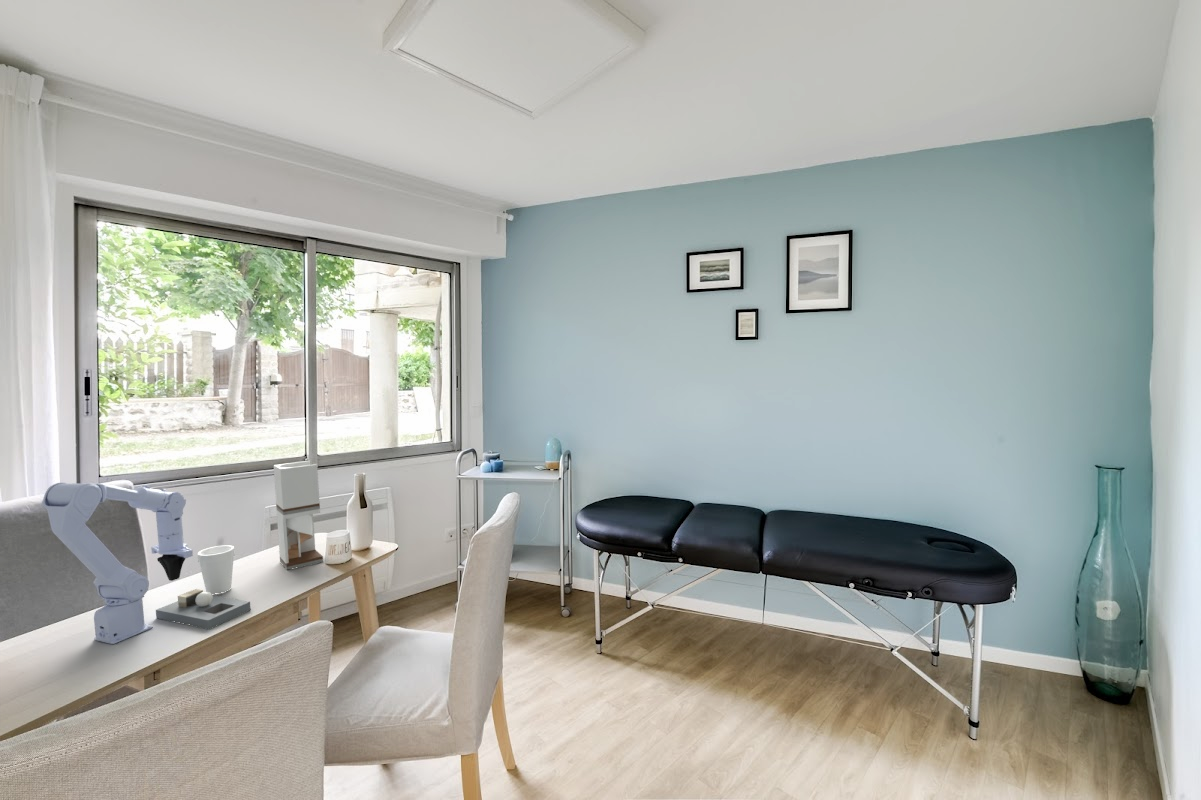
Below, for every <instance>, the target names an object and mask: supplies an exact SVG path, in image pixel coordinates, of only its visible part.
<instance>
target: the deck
mask: <svg viewBox="0 0 1201 800" xmlns="http://www.w3.org/2000/svg"><path fill="white" fill-rule="evenodd" d="M212 596H213V599H212V602H211V603H210V604H209V605H207V606H204V607H201V606H198V605H197V604H194V605H191V606H189V607H186V608H185V607H180V606H178V600H177V601H175V602H172V603H170V604H167V605H165V606H162V607H159V608H157V609H155V616H156V617H155V618H159V619H158V620H161V619H163V620H162V621H166V620H168V621H167V622H171V621H175V622H174V623H176V622H180V623H184V624H183V625H185V624H190V625H193V626H192V627H195V626H197V627H196V628H200V627H201V628H200V629H205V628H206V630H211V629H213V628H215V627H217V626H219V624H220V625H221V623H222V624H223V622H224V623H226V622H228V621H230V620H232V619H235V618H236V617H239V616H241V615H243V614H245V613H248V612H250V611H251V601H249V600H242V599H237V598H231V597H225V596H219V595H212ZM249 610H250V611H249ZM247 611H248V612H247ZM180 623H179V624H180ZM190 625H189V626H190ZM216 625H217V626H216ZM212 627H213V628H212ZM210 628H211V629H210Z"/></svg>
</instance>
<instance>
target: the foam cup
mask: <svg viewBox="0 0 1201 800" xmlns="http://www.w3.org/2000/svg"><path fill="white" fill-rule="evenodd" d="M234 558H235V546H234V545H231V544H230V545H228V544H226V545H225V544H224V545H217V546H211V547H207V548H204V549H202V550H199V551H198V552H197V559H198V561H197V562H198V564H199V567H200V572H201V576H202V580H203V584H204V588H205V592H210V593H211V594H215V593H221V592H225V591H227V590H229V589H230V588H231V589H232V581H233V568H234ZM229 591H230V590H229ZM225 593H226V592H225Z"/></svg>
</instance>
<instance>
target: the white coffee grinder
mask: <svg viewBox="0 0 1201 800" xmlns="http://www.w3.org/2000/svg"><path fill="white" fill-rule="evenodd" d="M310 461H311V460H304V461H295V462H287V463H280V464H274V465H273V473H274V475H273V476H274V489H275V490H274V491H275V492H274V493H275V505H276V507H275V508H276V509H275V510H276V520H277V521H276V523H277V524H276V525H277V535H278V536H277V537H278V549H279V550H278V552H279V553H278V554H279V563H280V562H281V563H282V564H283V565H282V564H281V563H280V564H281V565H282V566H283V568H284V569H285V568H286V569H291V570H293V569H292V568H295V569H297V568H296V567H299V568H303V567H302V566H304V567H307V566H306V565H308V566H311V564H312V565H317V564H320V562H321V563H324V556H323V555H322V554H321V553H320V552H319V551H317V550H316V542H315V541H316V540H315V539H316V538H315V524H314V523H315V520H314V515H315V514H320V513H321V507H320V506H321V505H320V502H321V501H320V491H319V489H320V488H319V487H320V485H319V476H318V475H319V473H318V472H319V470H318V463H314V464H311V462H310ZM286 569H285V570H286Z"/></svg>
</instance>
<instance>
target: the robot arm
mask: <svg viewBox="0 0 1201 800" xmlns="http://www.w3.org/2000/svg"><path fill="white" fill-rule="evenodd" d="M106 500H110V501H111V500H112V501H117V502H127V503H128V506H129V507H131V508H133V509H141V510H147V511H151V512H152V513H155V517H156V518H155V519H156V528H157V529H156V530H157V532H156V533H157V541H158V543H157V544H156V545H154V546H151V547H150V550H151V554H159V555H161V556H160V557H158V558H156V559H157V562H158V563H159V564H160V565H161V567H162V568H163V569H164V572H165V574H166V577H167V579H168V580H169V581H170V582H171V581H172V582H173V581H176V580H178V579H180V576H181V573H182V568H183V565H184V562H185V560H186V559H188V558H191V557H194V553H193V548H192V549H191V548H189V545H188V543H184V531H183V530H184V529H183V528H184V527H183V518H182V517H183V515H184V508H185V506H186V503H187V499H185V497H184V495H182V494H181V493H180V492H178V491H177V492H176V491H167V489H166V488H159V489H155V488H152V486H151V485H145V484H143V485H142V486H138V487H135V488H133V489H129V488H125V487H121V486H117V485H112V484H106V483H94V482H93V483H92V482H89V483H87V482H86V483H66V482H56V483H54V484H52V485H50V486H49V487H48V488H47V489H46V491H45V493H44V495H43V498H42V501H41V506H42V507H43V508H44V509H45V510H46V512H47V515H48V519H49V525H50V530H51V531H52V533H53V534H54V535H55V536H56V538H58V540H60V541H61V542H62V544H63V545H64V546H65V547H66V548H67V549H68V550H69V551H70V552H71V553H72V554H73V555H74V556H75V557H76V558H77V559H78V560H79V561H80V562H81V564H83V565H84V566H85V567H86V568H87V569H88V570H89V571H90V573H92V575H93V576H95V578H94V580H93V583H92V584H93V585H94V586H95V587H96V589H97V590H96V591H97V594H98V596H99V597H100V598H101V599H104V603H105V605H103V606H102V607H101V608H98V609H97V610H96V611H95V612H94V615H93V623H94V630H95V631H94V632H95V637H94V638H93V640H94V641H98V642H101V643H102V642H103V643H107V644H110V645H115V644H117V643H119V642H122V641H124V640H126V639H129V638H132V637H134V636H137V635H138V634H141V633H143V632H146V631H148V630H150V629H153V627H154V625H150V624H147V623H146V624H145V615H144V604H143V602H144V601H143V598H144V597H145V595H146V594H147V592H148V590H149V585H150V581H149V579H148V577H146V576H145V575H143V574H139V573H138V572H137V571H136V570H134V569H132V568H129V567H128V566H125V565H123V564H122V563H121V562H120V561H119V559H117V557H116V556H115V555H114V554H113V553H112V552H111V551H110V549H108V547H106V545H105V544H104V543H103V542H102V541H101V540H100V538H98V537H97V535H95V533H94V532H93V531H92V530H91V529H90V528H89V527H88V526H87V525H86V523H87V522H88V521H89V519H90V518H91V517H92V515H93V513H94V512H95V510H96V508H97V507H98V505H100V503H103V502H105V501H106Z"/></svg>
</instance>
